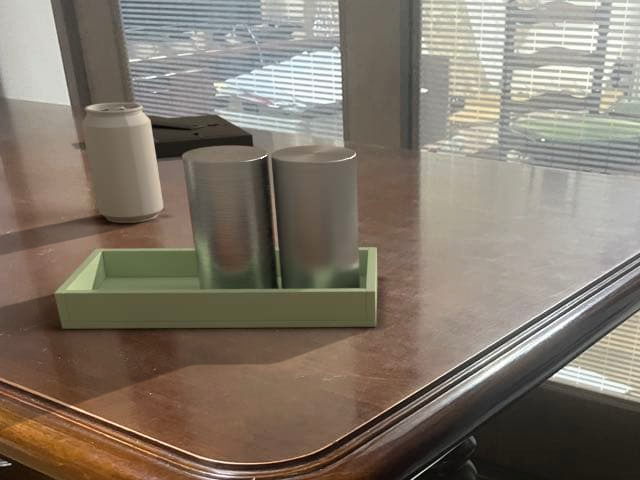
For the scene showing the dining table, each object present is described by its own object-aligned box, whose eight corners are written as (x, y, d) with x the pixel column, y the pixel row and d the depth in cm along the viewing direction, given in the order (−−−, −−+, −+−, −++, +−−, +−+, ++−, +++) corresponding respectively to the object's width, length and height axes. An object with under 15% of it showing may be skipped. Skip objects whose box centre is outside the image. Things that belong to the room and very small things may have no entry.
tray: (62, 329, 74) (53, 293, 72) (101, 280, 84) (95, 248, 83) (376, 327, 74) (375, 291, 73) (377, 279, 85) (376, 247, 83)
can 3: (278, 309, 76) (266, 162, 69) (286, 283, 82) (275, 145, 75) (359, 308, 76) (354, 162, 70) (360, 282, 82) (356, 145, 75)
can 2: (195, 309, 76) (174, 162, 69) (208, 283, 82) (190, 145, 75) (275, 309, 76) (262, 162, 69) (283, 283, 82) (272, 145, 75)
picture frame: (126, 135, 147) (152, 158, 131) (123, 116, 145) (149, 137, 130) (218, 127, 152) (253, 149, 137) (216, 109, 151) (251, 129, 135)
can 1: (149, 205, 108) (132, 97, 101) (175, 218, 103) (158, 105, 96) (90, 214, 105) (68, 103, 98) (113, 228, 100) (92, 112, 93)
